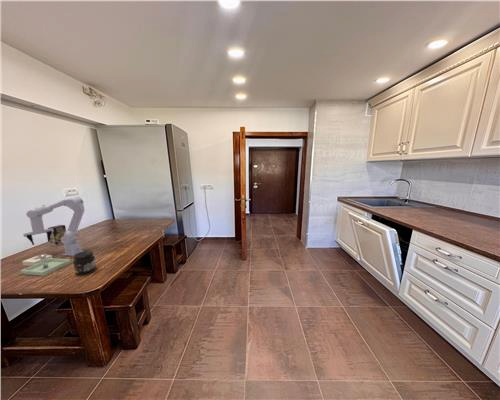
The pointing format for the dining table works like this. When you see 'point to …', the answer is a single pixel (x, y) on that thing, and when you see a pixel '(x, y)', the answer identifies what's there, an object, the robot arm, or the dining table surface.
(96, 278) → the dining table surface
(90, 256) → the supplement container
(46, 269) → the tray
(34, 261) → the socket block
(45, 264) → the steel pin
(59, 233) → the coffee box
